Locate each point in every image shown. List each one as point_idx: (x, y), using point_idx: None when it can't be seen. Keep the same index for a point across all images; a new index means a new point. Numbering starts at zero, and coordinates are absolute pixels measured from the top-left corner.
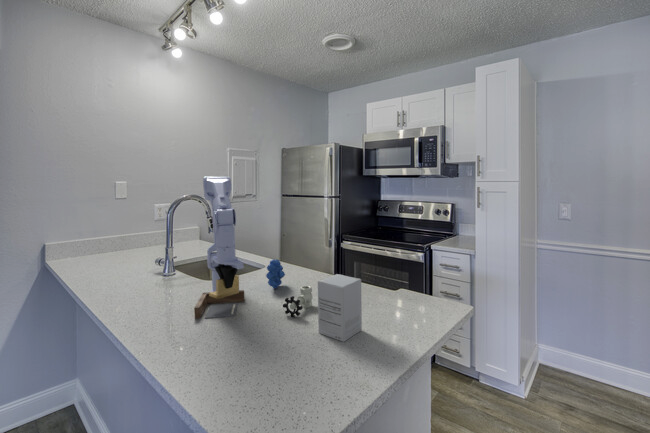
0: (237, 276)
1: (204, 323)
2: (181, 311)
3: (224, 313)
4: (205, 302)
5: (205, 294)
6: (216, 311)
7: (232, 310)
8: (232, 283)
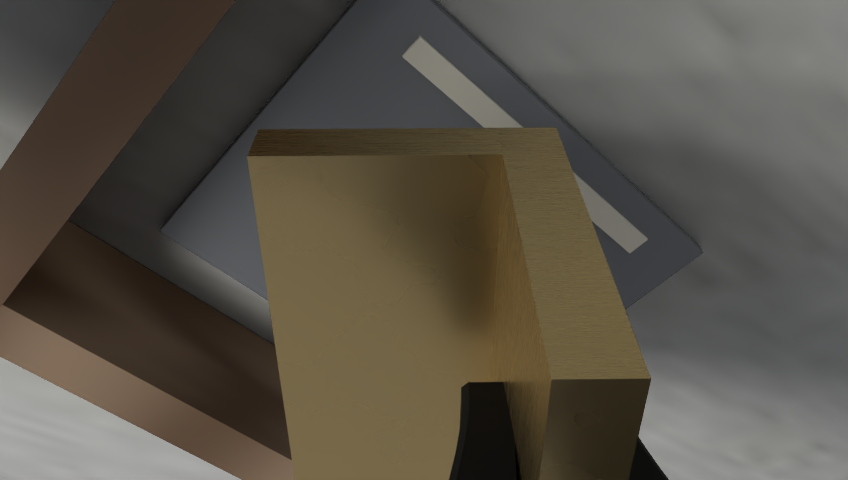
0: (633, 390)
1: None
2: (114, 446)
3: None
4: (145, 313)
5: (16, 323)
6: None
7: None
8: None
